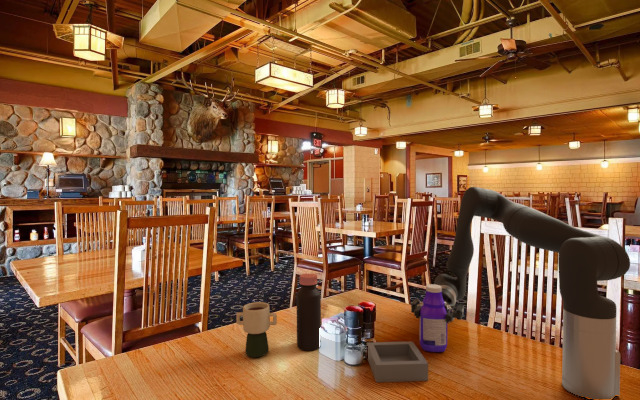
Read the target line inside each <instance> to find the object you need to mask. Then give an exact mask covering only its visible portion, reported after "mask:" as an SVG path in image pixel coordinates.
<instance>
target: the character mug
mask: <svg viewBox="0 0 640 400" xmlns="http://www.w3.org/2000/svg"><path fill="white" fill-rule="evenodd" d="M235 315H236V317H235V318H236V325H242V328H243V332H245V333H246V341H245V342H246V343H245V355H246V356H249V357H251V358H258V357H262V356H265V355H267V354H268V352H269V341H268V334H267V332H268V330H269V329H270V326H276V325H277V323H278V322H277V321H278V317H277V313H276V312H270V304H269V303H267V302H262V301H255V302H251V303H247V304H244V305H243V307H242V311H241V312H239V311H238V312H237V313H236V314H235ZM241 317H242V320H241ZM270 317H272V321H271V319H270Z"/></svg>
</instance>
